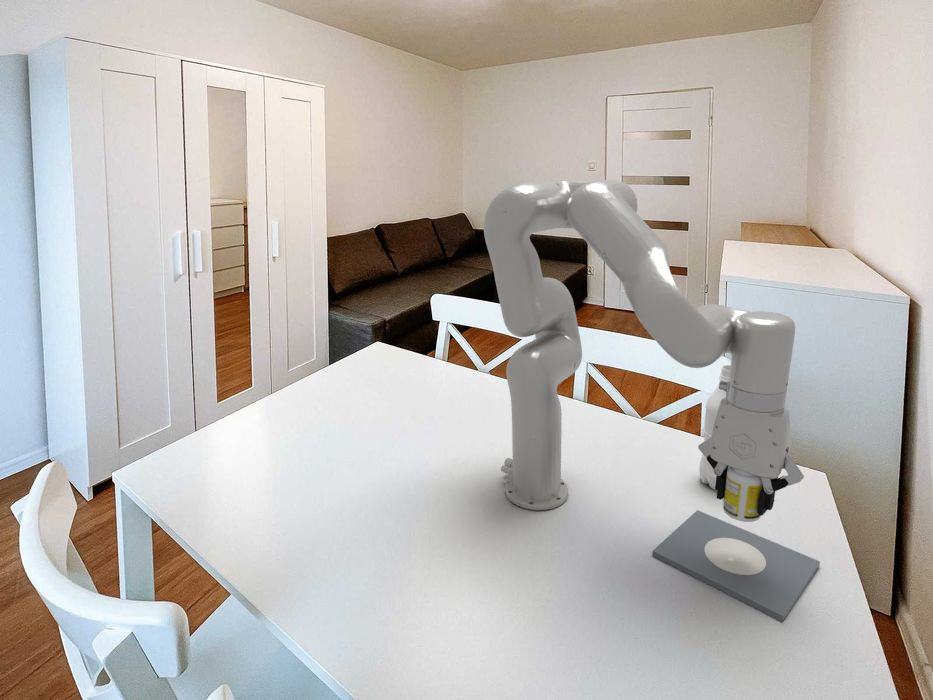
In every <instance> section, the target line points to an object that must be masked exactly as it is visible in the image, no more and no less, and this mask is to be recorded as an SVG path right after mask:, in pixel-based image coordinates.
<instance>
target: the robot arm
mask: <svg viewBox="0 0 933 700" xmlns="http://www.w3.org/2000/svg"><path fill="white" fill-rule="evenodd" d="M488 205H489V206H488V207H487V209H486V212H485V215H484V220H483V221H484V222H483V234H484V240H485V244H486V248H487V251H488V254H489V258H490V261H491V265H492V270H493V274H494V275H493V276H494V281H495V286H496V290H497V296H498V299H499V300H498V301H499V306H500V310H501V315H502V318H503V322H504V325H505V327H506V329H507V330H508V332H509V333H510V334H511V335H514V336H515V337H517V338H526V337H532V336H534V335H535V339H534V340H532V341H529V342H528V343H525V344H523V345H522V346H520V347H518V349H517V350H515V351H514V352H513V353H512V354H511V356H510V358H509V359H508V362H507V365H506V371H505V372H506V373H505V374H506V382H507V385H508V389H509V395H510V406H511V423H512V424H511V432H512V433H511V436H512V437H511V438H512V443H511V445H512V446H511V448H512V449H511V450H512V458H510V457H507V458H505V460H504V464H503V465H502V466H501V467H500V471H501V472H502V473H504V474H507V475H508V481H507V482H506V484H505V488H504V489H505V490H504V491H505V496H506V498H507V499H508V500H509V501H510V502H511V501H512V502H513V503H514V504H513V503H512V502H511V503H512V504H513V505H515V504H516V505H515V506H517V507H519V506H520V507H519V508H522V509H525V510H531V511H544V510H545V511H546V510H551V509H554V508H557V507H559V506H561V505H562V504H564V502H566V501H567V500H568V496H569V487H568V485H567V483H566V481H564V480H563V479H562V478H561V477H562V475H561V474H562V434H563V433H562V432H563V431H562V425H563V424H562V414H563V413H562V405H561V401H560V399H559V395H558V390H557V389H558V385H560V384H561V383H562V382H563V381H565V380H566V379H568V378H570V377H571V376H572V375H573V374H575V372H576V371H577V370H578V369H579V367H580V365H581V364H582V359H583V347H582V340H581V336H580V330H579V324H578V319H577V314H576V308H575V305H574V304H575V303H574V299H573V297H572V295H571V293H570V291H569V289H568V288H567V287H566V285H565V284H564V283H563V282H561V281H560V280H558V279H557V278H553V277H543V272H542V268H541V266H542V265H541V261H540V257H539V255H538V251H537V250H536V247H535V246H534V244H533V243H532V241H531V239H530V237H531V235H533V234H534V233H538V232H543V231H549V230H553V229H554V230H555V229H572V230H575V231H576V233H578V235H579V236H580V237H581V238H582V239H583V240H584V241H585V242H586V244H588V246H589V247H590V248H591V249H592V250H593V251H594V252H595V253H596V255H598V257H600V259H601V260H602V261H603V262H604V263H605V264H606V266H608V268H609V269H610V270H611V272H613V273H614V275H615V276H616V277H617V278H618V279H619V281H620V282H621V284H622V286H623V290H624V292H625V295H626V297H627V299H628V301H629V303H630V305H631V308H632V311H633V312H634V314H635V315H636V317H637V319H638V320H639V322H640V323H641V325H642V327H643V328H644V330H646V331H647V333H648V334H649V335H650V337H651V338H652V339H654V341H655V342H656V343H657V344H658V345H659V346H660V347H661V348H662V350H664V351H665V352H666V354H667V355H669V356H670V357H671V358H672V359H673V360H674V361H676V362H677V363H679V364H680V365H683V366H685V367H688V368H692V369H699V368H700V369H702V368H706V367H708V366H709V367H710V365H712V364H714V363H716V362H717V361H718V360H719V359H720V358H721V356H723V354H729V355H730V356H731V362H730V365H731V370H730V379H729V381H726V382H725V381H721V382H720V381H719V382H720V384H719V383H718V384H719V389H721V390H724V391H726V397H725V398H723V399H722V400H721V402H720V405H719V407H718V411H717V414H716V418H715V422H714V426H713V430H712V435H711V437H710V438H709V439H707V440H706V441H704V440H703V442H701V443H700V444H698V446H697V449H698V450H699V451H700V453H702V455H704V456H706V458H707V461H708V462H709V464H710V465H711V466H712V468H713V469H714V474H715V475H716V485H715V489H714V490H715V491H717V492H716V499H718V500H724V495H725V486H726V477H727V470H728V468H729V466H730V467H733V468H735V469H738V470H741V471H744V472H747V473H750V474H753V475H756V476H759V477H761V478H762V482H763V489H762V490H761V491H760V494H759V502H758V509H757V513H758V515H761V517H762V516H763V515H764V514H765V513H766V512H767V511H771V510H772V509H773V507H774V502H775V496H776V492H778V491H780V490H781V489H782V490H783V489H785V488H787V487H788V486H792V485H796V484H799V483H801V481H802V480H803V479H804V478H805V476H804V474H803V473H802V471H801V470H800V468H799V466H798V465H797V464H796V463H795V461H794V460H793V458H792V456H791V455H790V452H791V451H790V449H791V420H790V419H791V418H790V417H791V416H790V410H789V408H788V407H785V405H786V397H787V393H788V392H787V390H788V384H789V377H790V376H789V375H790V370H791V363H792V355H793V349H794V342H795V335H796V325H795V322H794V319H792V318H791V317H789V316H787V315H785V314H782V313H779V312H773V311H749V310H744V309H743V310H742V309H740V308H739V309H738V308H735V307H731V306H727V305H723V304H716V303H708V304H704V305H700V306H698V307H696V306H695V305H693V303H692V302H690V300H689V299H688V298H687V297H686V296H685V295H684V293H683V292H682V290H681V289H680V288H679V286H678V285H677V283H676V282H675V280H674V278H673V275H672V273H671V269H670V264H669V263H670V262H669V261H670V259H669V252H668V248H667V245H666V243H665V242H664V241H663V239H662V238H661V237H659V236H658V234H657V233H656V232H655V231H654V230H653V229H652V228H651V227H650V226H649V225H648V224H647V222H645V221H644V219H643V218H641V216H640V215H639V214H638V213H637V211H638V198H637V196H636V194H635V192H634V190H633V189H632V188H631V186H629V185H628V184H627V183H625V182H624V181H621V180H618V179H602V180H544V181H543V180H542V181H525V182H520V183H516V184H513V185H510V186H507V187H506V188H504V189H503V190H501V191H500V192H498V194H496V196H495V197H493V199H492V200H491V201H490V203H489V204H488ZM783 469H784V470H785V472H786V473H787V475H782V476H781V477H779V476H780V474H781V473H782V471H783Z"/></svg>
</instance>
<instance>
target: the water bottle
mask: <svg viewBox="0 0 933 700" xmlns="http://www.w3.org/2000/svg"><path fill="white" fill-rule="evenodd" d="M730 370H731V364H725V365H722V366H721V373H720V375H719V376H718V379H719V383H718V385H717V386H716V388H715V389H714V390H713V392H712V393H711V394H710V395H709V397H708V399H707V401H706V404H705V416H704V427H703V430H702V431H703V432H702V433H703V442H704V441H706V440H707V439H709V438H710V437H711V435H712V430H713V426H714V422H715V418H716V414H717V411H718V407H719V405H720V402H721V400H722V399H723V398H725V397H726V391H724V390H721V389H719V384H720V382H721V381H725V382H726V381H729V379H730ZM729 467H730V466H729ZM698 468H699V470H698V471H699V476H700V480H701V481H702V483H703V484H705V485H707V484H708V485H709V486H710V489H711V488H712V489H713V490H715V485H716V475H715V474H714V469H713V468H712V466H711V465H710V464H709V462H708V461H707V458H706V456H704V455H703V454H702V456H701V460H700V462H699V467H698Z"/></svg>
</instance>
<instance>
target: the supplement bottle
mask: <svg viewBox="0 0 933 700" xmlns="http://www.w3.org/2000/svg"><path fill="white" fill-rule="evenodd" d="M762 489H763V482H762V478H761V477H759V476H756V475H753V474H750V473H747V472H744V471H741V470H738V469H735V468H733V467H729V468H728V470H727V477H726V486H725V495H724V498H723V512H724V513H725V514H726V515H727V516H728V517H729V518H731V519H733V520H736V521H739V522H744V523H752V522H756V521H757V522H758V520H759V519H760V518H761V517H762V516H761V515H758V513H757V509H758V502H759V494H760V491H761V490H762Z"/></svg>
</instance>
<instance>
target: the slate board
mask: <svg viewBox="0 0 933 700" xmlns="http://www.w3.org/2000/svg"><path fill="white" fill-rule="evenodd" d="M651 556H653V557H654V558H656V559H658V560H660V561H662V562H664V563H666V564H668V565H669V566H672V567H673V568H676V569H678V570H680V571H682V572H684V573H686V574H687V575H689V576H691V577H694V578H696V579H698V580H700V581H701V582H703V583H704V584H707V585H709V586H711V587H713V588H715V589H717V590H719V591H720V592H723V593H724V594H727V595H729V596H730V597H733V598H735V599H736V600H738V601H741V602H742V603H745V604H746V605H749V606H750V607H752V608H754V609H756V610H758V611H760V612H762V613H763V614H766V615H768V616H769V617H772V618H774V619H775V620H778V621H779V622H781V623H783V622H784V620H785V618H786V617H787V616H788V614H789V613H790V611H791V610H792V609H793V607H794V605H795V604H796V602H797V601H798V600H799V597H800V596H801V595H802V594H803V592H804V590H805V589H806V587H807V586H808V584H809V583H810V581H811V580H812V578H813V576H815V574H816V572H817V571H818V570H819V568H820V566H821V561H820V560H818V559H815V558H813V557H810V556H808V555H806V554H803V553H801V552H798V551H796V550H793V549H791V548H788V547H786V546H784V545H781V544H779V543H777V542H774V541H773V540H770V539H768V538H765V537H763V536H761V535H758V534H755V533H752V532H751V531H748V530H747V529H743V528H741V527H738V526H736V525H734V524H731V523H730V522H727V521H725V520H722V519H720V518H717V517H715V516H714V515H713V516H712V515H710V514H708V513H705V512H703V511H700V510H698V509H697V510H696V511H695V512H693V514H691V515H690V516H689V517H688V518H687V519H685V521H684V522H682V523H681V524H680V525H679V526H678V527H677V528H676V529H675V530H674V531H672V532H671V533H670V534H669V535H668V536H667V537H666V538H665V539H663V541H662V542H660V543H659V544H658V545H657V546H655V547H654V548H653V550H652V554H651Z"/></svg>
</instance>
